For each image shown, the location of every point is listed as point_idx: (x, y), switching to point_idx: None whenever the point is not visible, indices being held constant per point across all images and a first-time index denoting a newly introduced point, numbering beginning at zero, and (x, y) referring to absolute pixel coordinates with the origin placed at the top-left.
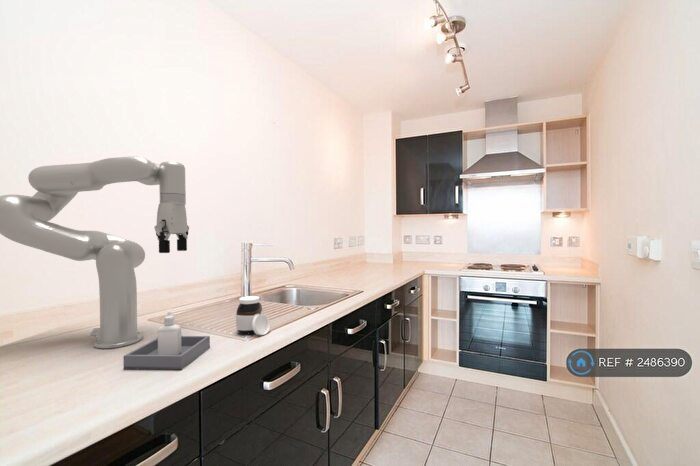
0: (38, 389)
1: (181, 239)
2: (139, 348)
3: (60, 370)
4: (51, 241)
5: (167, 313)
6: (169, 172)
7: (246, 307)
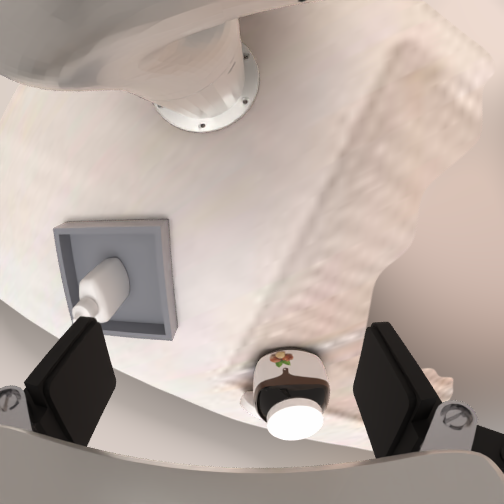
0: (11, 146)
1: (399, 440)
2: (84, 232)
3: (57, 106)
4: None
5: (74, 317)
6: None
7: (262, 413)
